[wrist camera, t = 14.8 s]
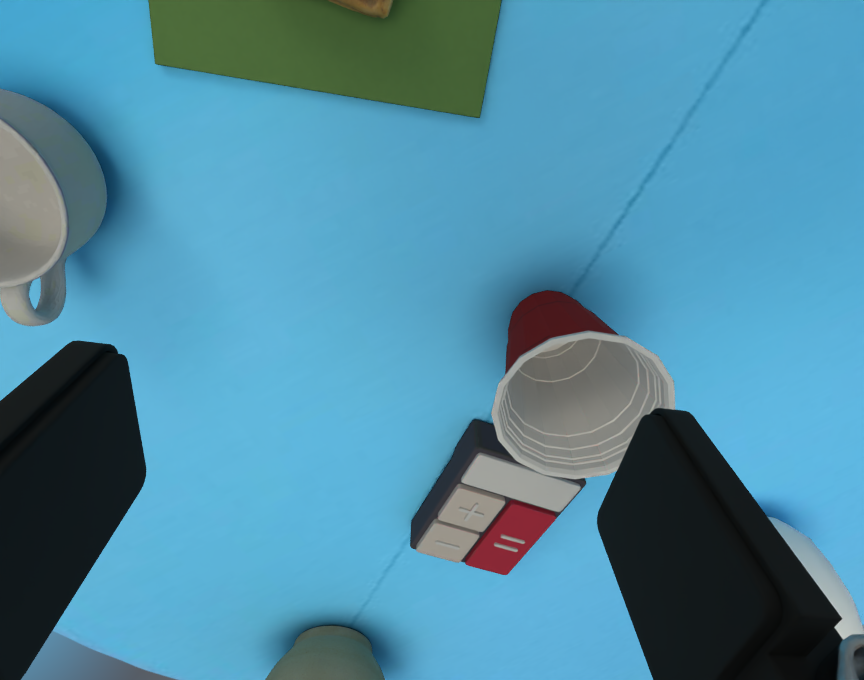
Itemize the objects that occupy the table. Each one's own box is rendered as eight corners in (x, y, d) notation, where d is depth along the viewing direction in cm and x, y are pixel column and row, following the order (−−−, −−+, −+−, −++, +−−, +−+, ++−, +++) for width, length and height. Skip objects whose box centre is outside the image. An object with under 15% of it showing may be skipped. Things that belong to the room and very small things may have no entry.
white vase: (772, 576, 58) (862, 710, 46) (657, 581, 58) (716, 716, 46) (812, 493, 51) (927, 626, 39) (680, 499, 51) (757, 633, 39)
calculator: (408, 555, 49) (476, 453, 41) (410, 518, 52) (473, 417, 45) (508, 581, 51) (591, 489, 44) (503, 544, 55) (579, 453, 47)
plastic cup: (507, 238, 37) (540, 313, 27) (636, 282, 39) (714, 368, 28) (455, 357, 42) (466, 460, 32) (571, 391, 44) (618, 497, 34)
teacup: (-69, 63, 31) (-211, 68, 24) (119, 92, 32) (34, 106, 25) (-5, 274, 38) (-100, 326, 31) (147, 293, 39) (88, 347, 32)
